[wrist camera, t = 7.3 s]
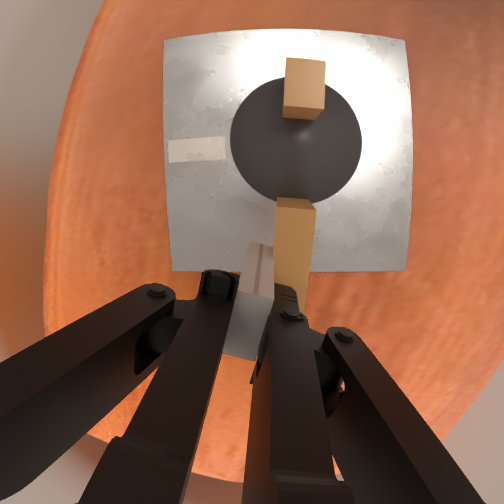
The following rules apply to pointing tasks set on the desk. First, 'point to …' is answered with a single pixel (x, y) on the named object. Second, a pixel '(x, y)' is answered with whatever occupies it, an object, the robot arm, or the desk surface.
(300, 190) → the cap
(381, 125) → the post plate
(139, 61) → the desk surface
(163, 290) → the robot arm
